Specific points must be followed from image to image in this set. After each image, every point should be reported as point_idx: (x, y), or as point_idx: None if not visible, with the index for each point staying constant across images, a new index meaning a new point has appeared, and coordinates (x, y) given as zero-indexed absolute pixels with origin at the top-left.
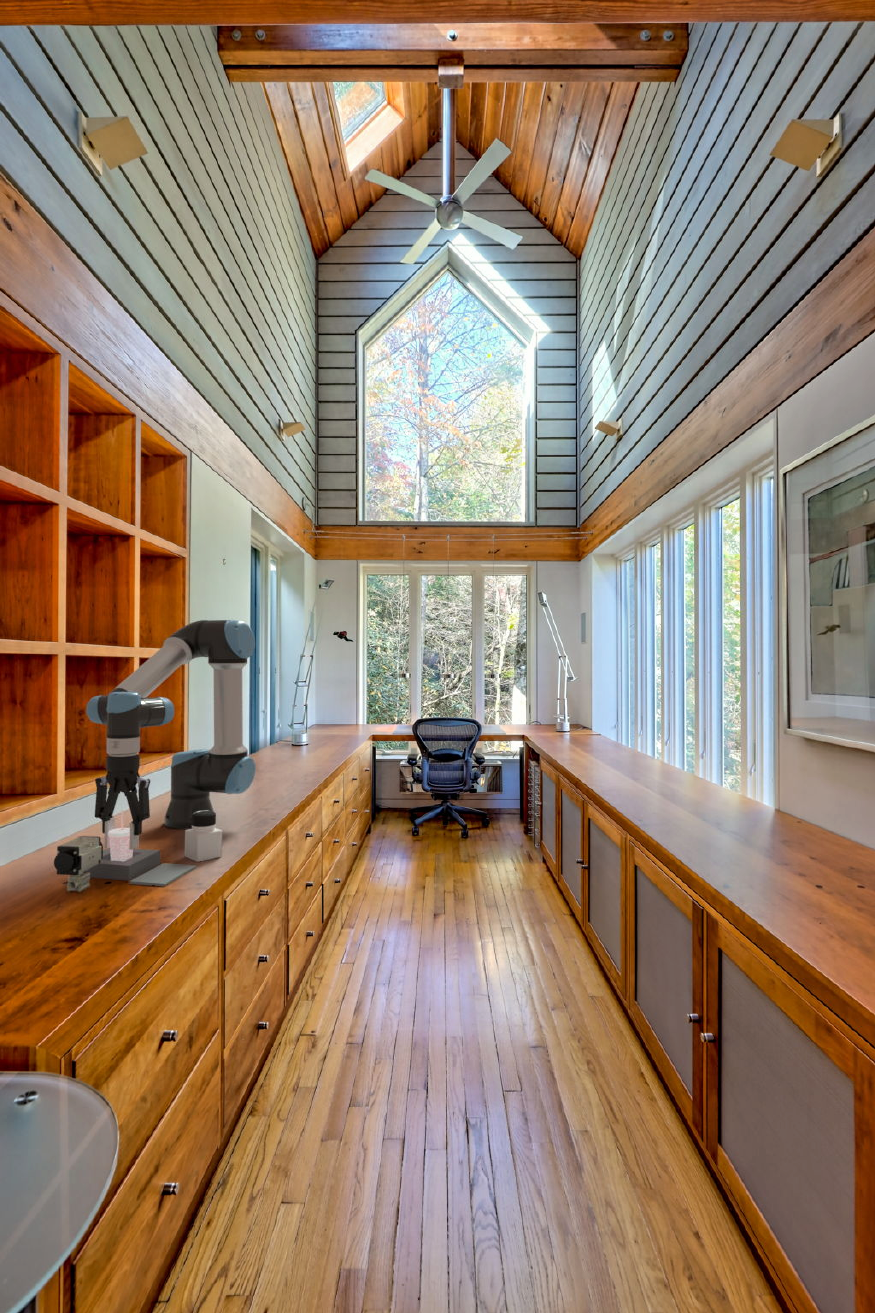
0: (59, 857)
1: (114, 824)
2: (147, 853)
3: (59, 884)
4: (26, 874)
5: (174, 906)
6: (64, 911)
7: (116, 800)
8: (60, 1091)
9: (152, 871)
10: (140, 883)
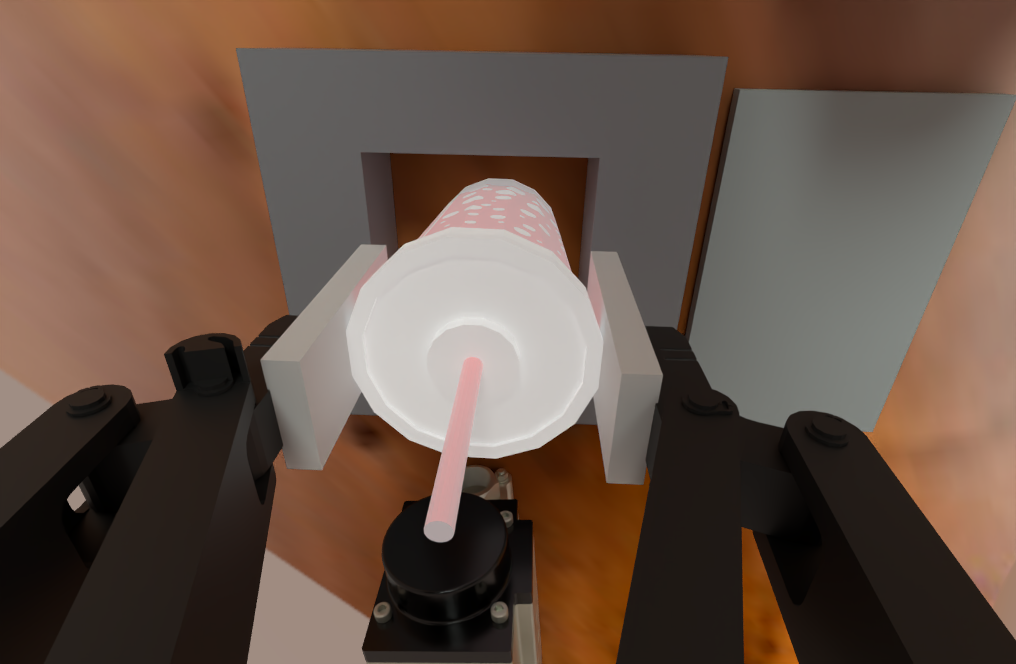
0: None
1: (323, 328)
2: (655, 174)
3: (354, 458)
4: (84, 373)
5: None
6: (578, 639)
7: (190, 615)
8: None
9: (731, 272)
10: None
